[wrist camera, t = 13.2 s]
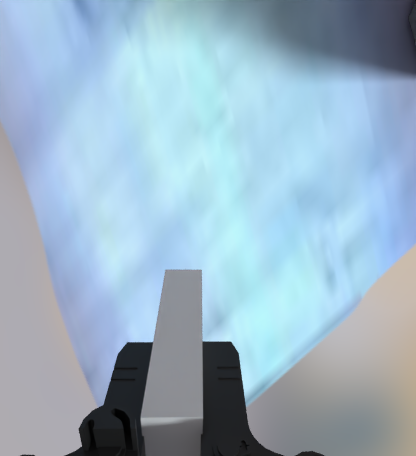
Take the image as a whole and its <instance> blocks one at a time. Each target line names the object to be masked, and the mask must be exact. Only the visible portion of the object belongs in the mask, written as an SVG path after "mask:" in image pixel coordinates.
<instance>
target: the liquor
mask: <svg viewBox="0 0 416 456" xmlns="http://www.w3.org/2000/svg"><path fill="white" fill-rule="evenodd" d="M409 22H410V26H411V30H412V34H413V37H414V41H415V45H416V3H415V5H414V7H413V9H412V12H411V14H410V16H409Z"/></svg>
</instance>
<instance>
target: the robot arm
mask: <svg viewBox="0 0 416 456" xmlns="http://www.w3.org/2000/svg"><path fill="white" fill-rule="evenodd" d="M79 433H80V438H81V442H82V447H80V448H79V449H78V450H76V451H75V452H72V453H70V454H68V455H65V456H283V455H281V454H278V453H274V452H272V451H270V450H268V449H266V448H264V447H263V446H262V445H261V444H259V443H258V441H257V440H256V439H255V438H254V437H253V435H252V433H251V431H250V429H249V425H248V420H247V413H246V405H245V398H244V390H243V383H242V375H241V369H240V360H239V353H238V352H237V350H236V349H235V347H234V346H233V344H232V342H202V270H165V276H164V282H163V288H162V293H161V299H160V305H159V311H158V317H157V323H156V329H155V335H154V341H153V342H127V344H126V345H125V346H124V347H123V349H122V350H121V351H120V352H119V353H118V356H117V359H116V363H115V366H114V370H113V373H112V377H111V382H110V384H109V388H108V391H107V395H106V398H105V402H104V405H103V406H101V407H99V408H97V409H95V410H93V411H92V412H91V413H90V414H89V415H88V416H87V417H85V419H84V420H83V422H82V424H81V426H80V428H79ZM21 456H35V455H21ZM296 456H324V455H322V454H319V453H316V452H313V451H309V452H301V453H300V454H298V455H296Z"/></svg>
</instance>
